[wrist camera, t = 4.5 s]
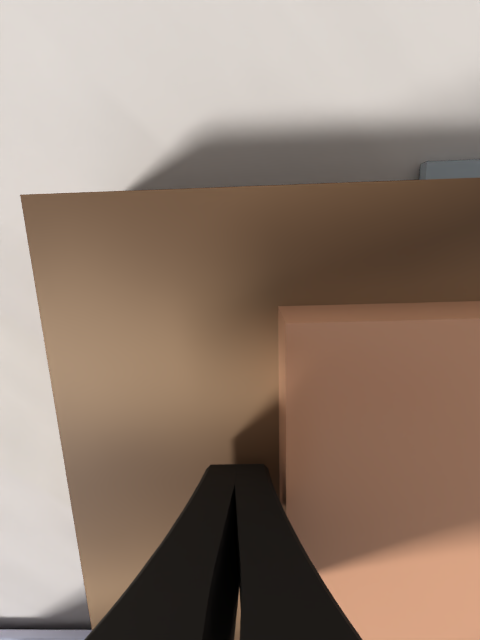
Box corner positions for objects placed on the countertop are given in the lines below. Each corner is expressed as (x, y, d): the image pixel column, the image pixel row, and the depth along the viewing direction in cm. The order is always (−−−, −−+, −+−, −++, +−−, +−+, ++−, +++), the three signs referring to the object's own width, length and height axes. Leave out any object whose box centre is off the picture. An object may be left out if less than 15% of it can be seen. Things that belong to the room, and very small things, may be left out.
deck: (389, 566, 14) (442, 693, 10) (141, 566, 14) (101, 689, 10) (417, 198, 11) (512, 176, 7) (100, 210, 11) (20, 194, 7)
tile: (501, 625, 9) (551, 701, 8) (280, 625, 10) (286, 700, 8) (558, 298, 7) (641, 314, 6) (277, 306, 8) (285, 323, 6)
